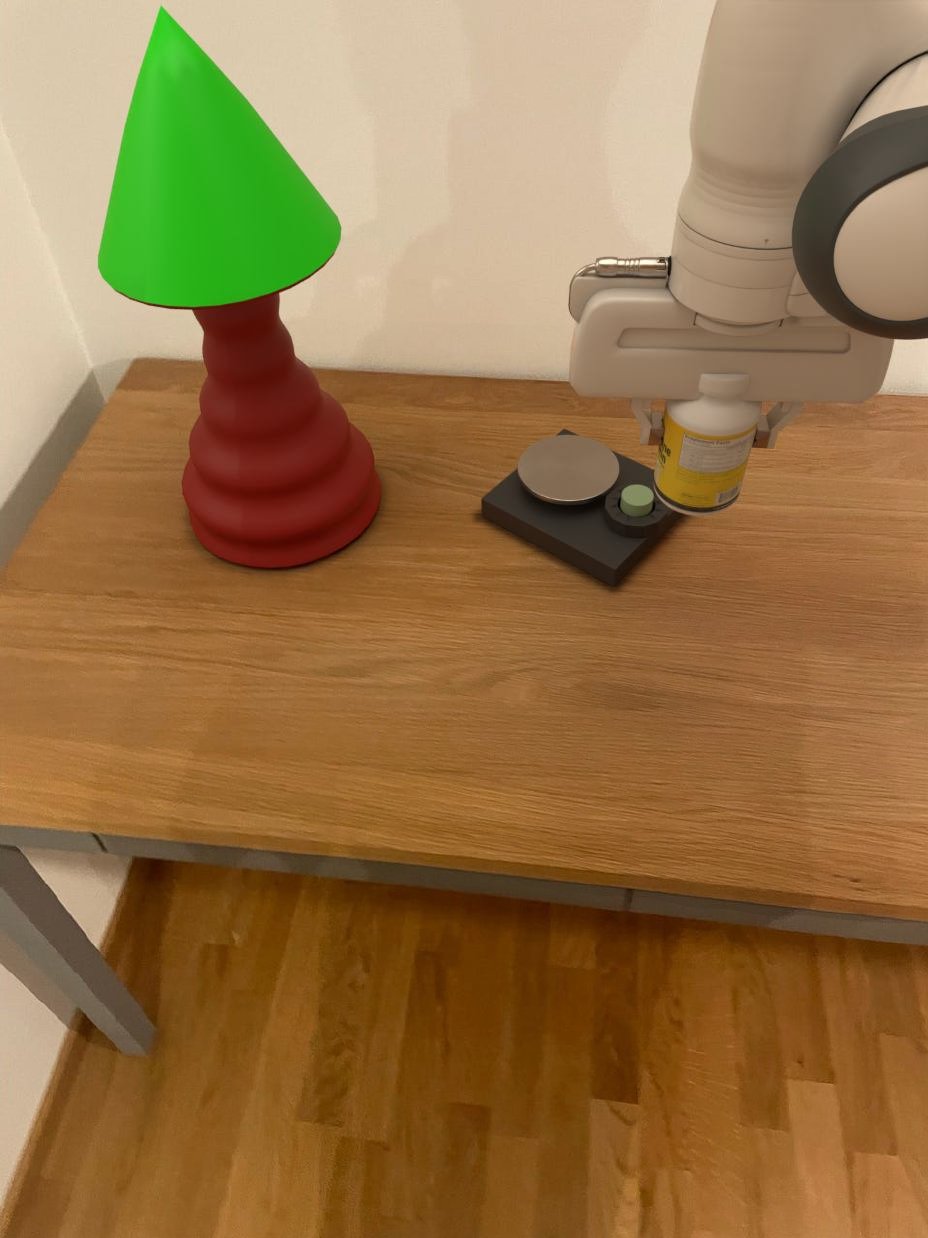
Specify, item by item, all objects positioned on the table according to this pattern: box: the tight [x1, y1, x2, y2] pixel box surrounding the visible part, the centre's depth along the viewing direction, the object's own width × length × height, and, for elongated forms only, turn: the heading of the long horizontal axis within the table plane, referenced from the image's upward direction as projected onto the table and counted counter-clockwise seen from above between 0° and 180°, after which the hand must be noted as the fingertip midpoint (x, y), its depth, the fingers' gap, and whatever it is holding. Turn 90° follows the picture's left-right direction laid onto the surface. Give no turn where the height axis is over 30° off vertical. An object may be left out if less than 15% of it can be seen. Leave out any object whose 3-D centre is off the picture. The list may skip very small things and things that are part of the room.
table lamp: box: [97, 5, 382, 569], centre depth 79 cm, size 20×20×45 cm
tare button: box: [620, 485, 654, 517], centre depth 88 cm, size 3×3×2 cm
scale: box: [480, 428, 685, 587], centre depth 92 cm, size 16×14×4 cm
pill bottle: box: [653, 374, 763, 517], centre depth 65 cm, size 6×6×12 cm
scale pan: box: [517, 434, 619, 505], centre depth 91 cm, size 10×10×1 cm
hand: (705, 441), depth 66 cm, fingers closed on pill bottle, 6 cm apart
